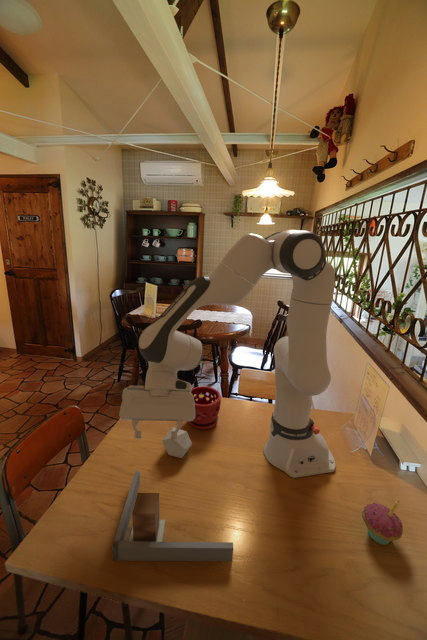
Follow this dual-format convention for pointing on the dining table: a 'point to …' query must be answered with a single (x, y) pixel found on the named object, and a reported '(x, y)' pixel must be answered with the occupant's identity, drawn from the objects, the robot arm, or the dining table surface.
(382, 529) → the cupcake
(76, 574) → the dining table surface
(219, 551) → the grey l-shaped bracket
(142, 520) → the walnut block
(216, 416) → the plant pot
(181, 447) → the die
